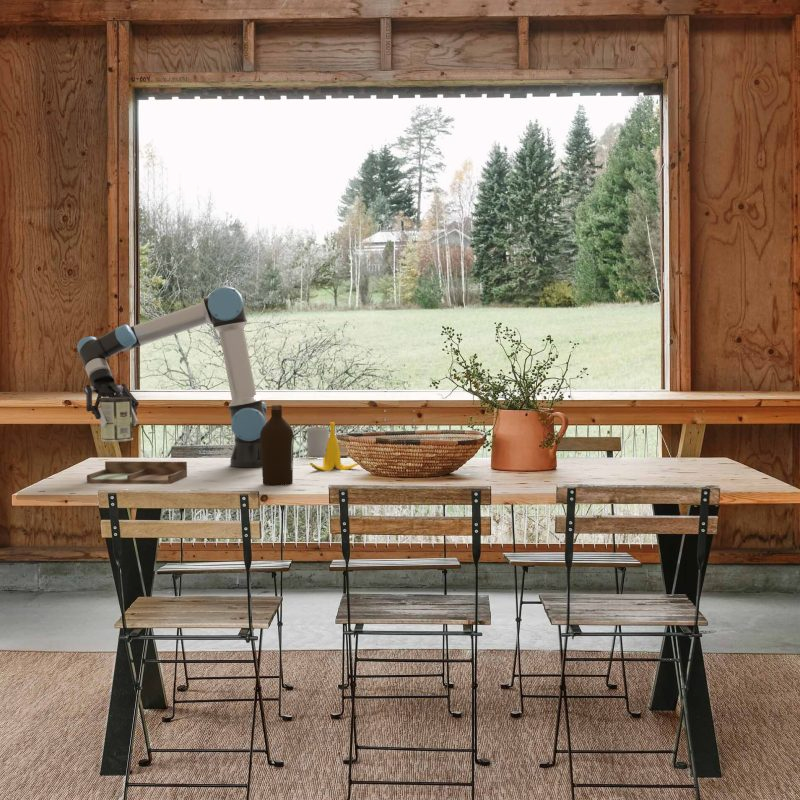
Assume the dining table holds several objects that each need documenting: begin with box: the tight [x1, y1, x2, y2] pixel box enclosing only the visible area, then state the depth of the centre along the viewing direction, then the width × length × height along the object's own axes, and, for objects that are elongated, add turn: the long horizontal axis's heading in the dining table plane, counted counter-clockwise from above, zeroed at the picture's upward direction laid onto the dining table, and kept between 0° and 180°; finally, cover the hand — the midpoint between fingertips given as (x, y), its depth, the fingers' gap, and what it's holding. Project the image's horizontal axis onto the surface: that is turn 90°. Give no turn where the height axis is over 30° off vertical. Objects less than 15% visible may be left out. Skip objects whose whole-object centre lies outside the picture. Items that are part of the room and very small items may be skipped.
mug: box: [306, 426, 330, 458], centre depth 386 cm, size 12×8×11 cm
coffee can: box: [99, 397, 134, 443], centre depth 323 cm, size 10×10×14 cm
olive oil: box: [260, 404, 295, 487], centre depth 311 cm, size 11×11×25 cm
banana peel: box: [309, 421, 359, 472], centre depth 345 cm, size 17×19×17 cm
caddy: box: [86, 460, 188, 484], centre depth 323 cm, size 28×16×5 cm, turn 84°
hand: (120, 424), depth 320 cm, fingers closed on coffee can, 10 cm apart
